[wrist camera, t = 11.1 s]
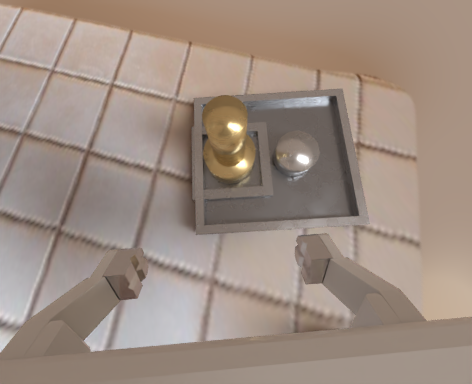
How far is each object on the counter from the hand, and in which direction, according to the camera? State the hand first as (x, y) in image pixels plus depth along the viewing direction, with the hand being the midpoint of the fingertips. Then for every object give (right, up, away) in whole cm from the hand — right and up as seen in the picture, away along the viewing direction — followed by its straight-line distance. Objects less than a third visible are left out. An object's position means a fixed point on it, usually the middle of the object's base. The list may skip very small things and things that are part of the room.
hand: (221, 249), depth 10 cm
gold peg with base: (0, +7, +15) cm, 16 cm away
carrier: (+6, +7, +16) cm, 18 cm away
